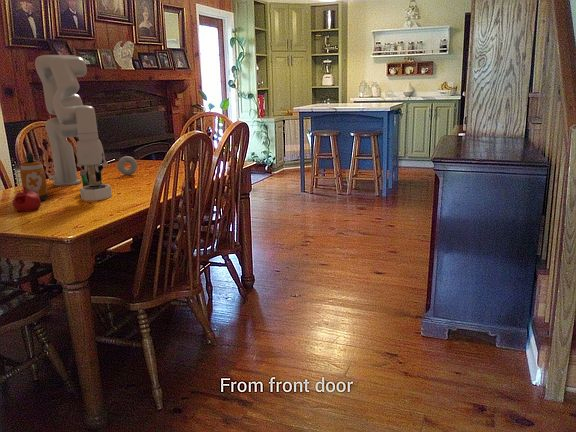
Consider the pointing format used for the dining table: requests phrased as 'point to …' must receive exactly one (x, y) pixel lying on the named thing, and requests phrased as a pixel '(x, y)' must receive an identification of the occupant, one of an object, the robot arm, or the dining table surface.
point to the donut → (127, 160)
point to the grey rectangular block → (92, 175)
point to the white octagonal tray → (95, 193)
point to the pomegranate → (26, 200)
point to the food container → (84, 178)
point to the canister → (34, 176)
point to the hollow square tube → (95, 187)
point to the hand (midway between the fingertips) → (94, 180)
